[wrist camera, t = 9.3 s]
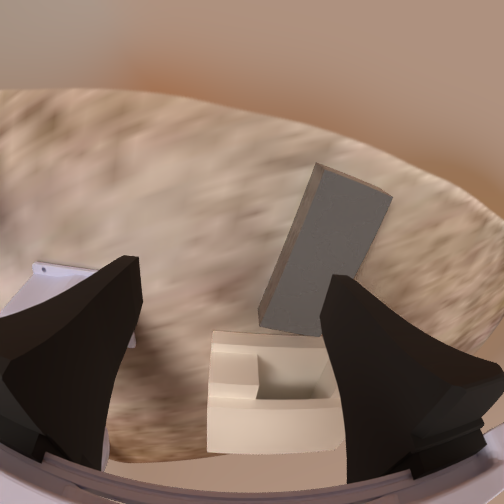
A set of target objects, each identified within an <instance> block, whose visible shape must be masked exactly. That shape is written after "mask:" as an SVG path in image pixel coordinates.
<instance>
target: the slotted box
mask: <svg viewBox="0 0 504 504" xmlns="http://www.w3.org/2000/svg"><path fill="white" fill-rule="evenodd" d="M344 439H345V428H344V419H343V412H342V406H341V399H340V394H339V390H338V385H337V382H336V379H335V375H334V372H333V369H332V366H331V362H330V359H329V356H328V353H327V350H326V346H325V343H324V340H323V336H320V337H314V336H294V335H270V334H253V333H238V332H225V331H214V330H213V334H212V346H211V359H210V370H209V382H208V404H207V452H213V453H229V454H292V453H308V452H319V451H328V450H335V449H336V448H337V447H338V446H339V445H340V443H341V442H342V441H343V440H344Z"/></svg>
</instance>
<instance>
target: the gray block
mask: <svg viewBox="0 0 504 504" xmlns="http://www.w3.org/2000/svg"><path fill="white" fill-rule="evenodd" d="M392 198H393V197H392V196H391V195H389V194H388V193H386V192H385V191H383V190H382V189H380V188H379V187H376V186H374V185H372V184H369V183H367V182H365V181H362V180H360V179H357V178H355V177H353V176H350V175H348V174H345V173H343V172H340V171H337V170H335V169H332V168H330V167H327V166H324V165H322V164H319V163H316V164H315V166H314V169H313V172H312V174H311V177H310V180H309V182H308V185H307V187H306V190H305V193H304V195H303V198H302V200H301V203H300V206H299V208H298V211H297V213H296V216H295V218H294V221H293V224H292V226H291V229H290V231H289V234H288V236H287V239H286V241H285V244H284V246H283V249H282V251H281V254H280V256H279V259H278V261H277V264H276V266H275V269H274V271H273V273H272V276H271V278H270V281H269V283H268V286H267V288H266V291H265V293H264V295H263V298H262V300H261V303H260V305H259V307H258V316H259V326H260V327H265V328H270V329H275V330H280V331H286V332H291V333H297V334H303V335H308V336H314V337H320V336H321V334H322V330H321V323H320V317H319V316H320V313H321V310H322V307H323V304H324V300H325V297H326V294H327V291H328V288H329V284H330V281H331V278H332V274H337V275H347V276H349V277H351V278H352V279H353V278H354V276H355V275H356V273H357V271H358V269H359V267H360V265H361V263H362V261H363V259H364V257H365V255H366V253H367V251H368V249H369V247H370V245H371V243H372V241H373V239H374V237H375V235H376V233H377V231H378V229H379V227H380V225H381V223H382V220H383V218H384V216H385V214H386V212H387V210H388V207H389V205H390V203H391V201H392Z"/></svg>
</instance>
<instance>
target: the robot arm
mask: <svg viewBox="0 0 504 504" xmlns="http://www.w3.org/2000/svg"><path fill="white" fill-rule="evenodd" d="M32 269H33V273H34V274H33V275H32V276H31V277H30V278H29V279H28V281H27V282H26V283H25V284H24V285H23V286H22V287H21V288H20V289H19V291H18V292H17V293H16V294H15V295H14V296H13V297H12V299H11V300H10V301H9V302H8V303H7V305H6V306H5V307H4V308H3V309H2V311H1V312H0V504H119V503H116V502H113V501H110V500H108V499H111V500H114V501H118V502H122V503H126V504H486V503H488V502H489V501H490V500H492V499H493V498H494V497H496V496H497V495H498V494H499V493H501V492H502V491H503V490H504V422H503V423H502V424H500V425H498V426H496V427H494V428H492V429H490V430H489V431H487V432H486V433H484V434H482V432H481V430H480V428H482V427H483V426H484V422H483V420H482V418H481V417H482V416H483V415H484V414H485V413H486V412H487V411H488V410H489V409H490V408H491V407H492V406H493V404H494V403H495V402H496V401H497V400H498V398H499V397H500V396H501V395H502V394H503V392H504V372H503V370H502V368H501V367H500V366H499V365H498V364H497V363H494V362H491V361H487V360H484V359H481V358H478V357H474V356H472V355H469V354H467V353H464V352H462V351H459V350H457V349H455V348H453V347H451V346H448V345H446V344H444V343H443V342H441V341H439V340H437V339H435V338H433V337H431V336H429V335H428V334H426V333H424V332H423V331H421V330H420V329H418V328H416V327H415V326H413V325H412V324H410V323H409V322H407V321H406V320H404V319H403V318H402V317H400V316H399V315H398V314H396V313H395V312H394V311H392V310H391V309H390V308H388V307H387V306H386V305H385V304H383V303H382V302H381V301H380V300H378V299H377V298H376V297H375V296H374V295H372V294H371V293H370V292H369V291H367V290H366V289H365V288H364V287H363V286H361V285H360V284H359V283H357V282H356V281H355V280H353V279H352V278H351V277H349V276H347V275H337V274H332V278H331V281H330V284H329V288H328V291H327V294H326V297H325V300H324V304H323V307H322V310H321V313H320V316H319V317H320V323H321V330H322V335H323V340H324V343H325V346H326V350H327V353H328V356H329V359H330V362H331V366H332V369H333V372H334V375H335V379H336V382H337V385H338V390H339V394H340V399H341V406H342V412H343V419H344V428H345V438H346V452H347V484H345V485H339V486H333V487H327V488H319V489H311V490H301V491H289V492H269V493H232V492H231V493H230V492H214V491H200V490H191V489H183V488H175V487H169V486H162V485H157V484H151V483H146V482H141V481H136V480H132V479H128V478H123V477H119V476H115V475H112V474H108V473H105V472H104V470H105V468H106V466H107V462H108V459H109V453H110V443H109V435H108V431H107V428H106V427H105V426H106V419H107V414H108V408H109V403H110V398H111V394H112V390H113V386H114V382H115V378H116V375H117V372H118V369H119V366H120V364H121V361H122V359H123V356H124V354H125V351H126V349H127V347H128V348H134V347H135V346H136V339H135V334H134V330H135V327H136V325H137V322H138V318H139V315H140V311H141V307H142V304H143V297H142V288H141V277H140V266H139V257H135V256H126V255H124V256H121V257H120V258H118V259H116V260H114V261H113V262H111V263H110V264H108V265H106V266H105V267H103V268H102V269H100V270H92V269H84V268H77V267H70V266H63V265H56V264H49V263H42V262H34V263H33V264H32ZM45 269H46V270H45ZM100 496H101V497H100ZM102 497H104V498H102ZM105 498H108V499H105Z"/></svg>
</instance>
